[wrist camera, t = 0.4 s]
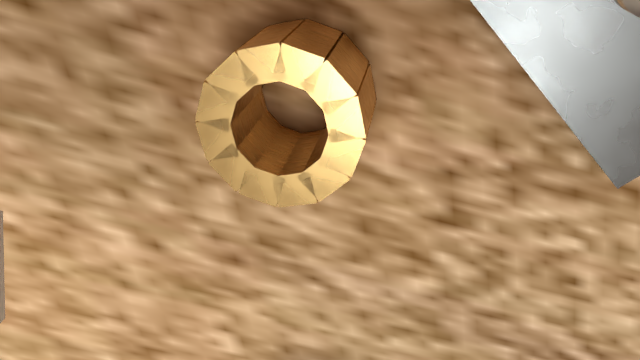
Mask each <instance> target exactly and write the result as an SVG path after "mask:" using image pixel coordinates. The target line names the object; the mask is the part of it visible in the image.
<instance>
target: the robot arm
mask: <svg viewBox="0 0 640 360" xmlns="http://www.w3.org/2000/svg"><path fill="white" fill-rule="evenodd" d="M4 319H5V291H4V247H3V211H0V323H1V322H2V321H3V320H4Z"/></svg>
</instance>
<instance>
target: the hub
mask: <svg viewBox="0 0 640 360" xmlns="http://www.w3.org/2000/svg"><path fill="white" fill-rule="evenodd" d="M341 34H342V31H339V30H337V29H334V28H331V27H328V26H325V25H323V24H320V23H317V22H314V21H312V20H309V19H306V20H305V19H300V20H295V21H290V22H285V23H280V24H275V25H270V26H268V27H266V28H265V29H263V30H262V31H261V32H259V33H258V34H257V35H255V36H254V37H253V38H252V39H250V40H249V41H248V42H246V43H245V44H244V45H243V46H241V47H240V48H239V49H237V50H236V51H235V52H234V53H233V54H231V55H230V56H229V57H228V58H227V59H226V60H225V61H224V62H223V63H222V64H221V65H220V66H219V67H218V68H217V69H216V70H215V71H214V72H213V73H212V74H211V75H209V76H208V77H207V78H206V79H205V80H206V81H204V84H203V88H202V92H201V96H200V101H199V105H198V109H197V114H196V118H195V120H196V121H197V122H195V124H196V127H197V131H198V134H199V137H200V140H201V144H202V147H203V150H204V153H205V157H206V160H207V161H209V160H211V161H210V162H209V164H210V165H211V167H212V168H213V169H214V170H215V171H216V172H217V173H218V174H219V175H220V176H221V177H222V178H223V179H224V180H225V181H226V182H227V183H228V184H229V185H230V186H231V187H232V188H233V189H234V190H235V191H236V192H237V191H238V190H239V189H240V191H239V194H241V195H244V196H247V197H249V198H252V199H255V200H258V201H260V202H263V203H266V204H269V205H271V206H274V207H276V206H277V204H278V207H288V206H296V205H304V204H313V203H317V202H318V201H319V202H320V201H322V200H323V199H324V198H326V197H327V196H328V195H330V194H331V193H332V192H334V191H335V190H336V189H338V188H339V187H340V186H342V185H343V184H344V183H346V182H347V181H349V180H350V178H351V177H352V175H353V173H354V170H355V167H356V165H357V162H358V160H359V157H360V154H361V152H362V149H363V147H364V144H365V141H366V138H367V134H368V131H369V127H370V123H371V120H372V116H373V112H374V108H375V105H376V94H375V88H374V83H373V77H372V72H371V66H370V64H368V63H369V61H368V60H367V59H366V58H365V56H364V55H363V54H362V53H361V52H360V51H359V49H358V48H357V47H356V46H355V45H354V44H353V42H352V41H351V40H350V39H349V38H348V37H347V35H346V34H345V33H344V34H343V35H342V36H341ZM277 81H281V82H284V83H286V84H289V85H292V86H295V87H298V88H300V89H303V90H305V91H306V92H307V93H308V94H309V95H310V96H311V97H312V98H313V100H314V101H315V102H316V103H317V104H318V105H319V106H320V107H321V109H322V110H323V112H324V116H325V121H326V125H327V127H326V128H324V129H323V130H320V131H314V132H307V133H299V132H297V131H294V130H291V129H288V128H286V127H283V126H281V125H280V124H279V123H278V122H277V120H276V119H275V118H274V117H273V116H272V115H271V114H270V113H269V112H268V111H267V108H266V104H265V100H264V96H263V92H262V87H263V84H266V83H271V82H277Z"/></svg>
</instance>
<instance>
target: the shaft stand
mask: <svg viewBox="0 0 640 360" xmlns="http://www.w3.org/2000/svg"><path fill="white" fill-rule="evenodd" d="M470 1H471V2H472V3H473V5H474V6H475V7H476V8H477V10H478V11H479V12H480V14H481V15H482V16H483V17H484V19H485V20H486V21H487V22H488V24H489V25H490V26H491V28H492V29H493V30H494V31H495V33H496V34H497V35H498V37H499V38H500V39H501V40H502V42H503V43H504V44H505V45H506V47H507V48H508V49H509V51H510V52H511V53H512V54H513V56H514V57H515V58H516V60H517V61H518V62H519V63H520V65H521V66H522V67H523V68H524V70H525V71H526V72H527V74H528V75H529V76H530V77H531V79H532V80H533V81H534V83H535V84H536V85H537V86H538V88H539V89H540V90H541V92H542V93H543V94H544V95H545V97H546V98H547V99H548V100H549V102H550V103H551V104H552V106H553V107H554V108H555V109H556V111H557V112H558V113H559V115H560V116H561V117H562V118H563V120H564V121H565V122H566V123H567V125H568V126H569V127H570V129H571V130H572V131H573V132H574V134H575V135H576V136H577V138H578V139H579V140H580V141H581V143H582V144H583V145H584V146H585V148H586V149H587V150H588V152H589V153H590V154H591V155H592V157H593V158H594V159H595V161H596V162H597V163H598V164H599V166H600V167H601V168H602V169H603V171H604V172H605V173H606V175H607V176H608V177H609V178H610V180H611V181H612V182H613V184H614V185H615V186H616V187H617V189H618V188H620V187H621V186H623V185H625V184H626V183H628V182H630V181H631V180H633V179H635V178H636V177H638V176H640V0H470Z"/></svg>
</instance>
